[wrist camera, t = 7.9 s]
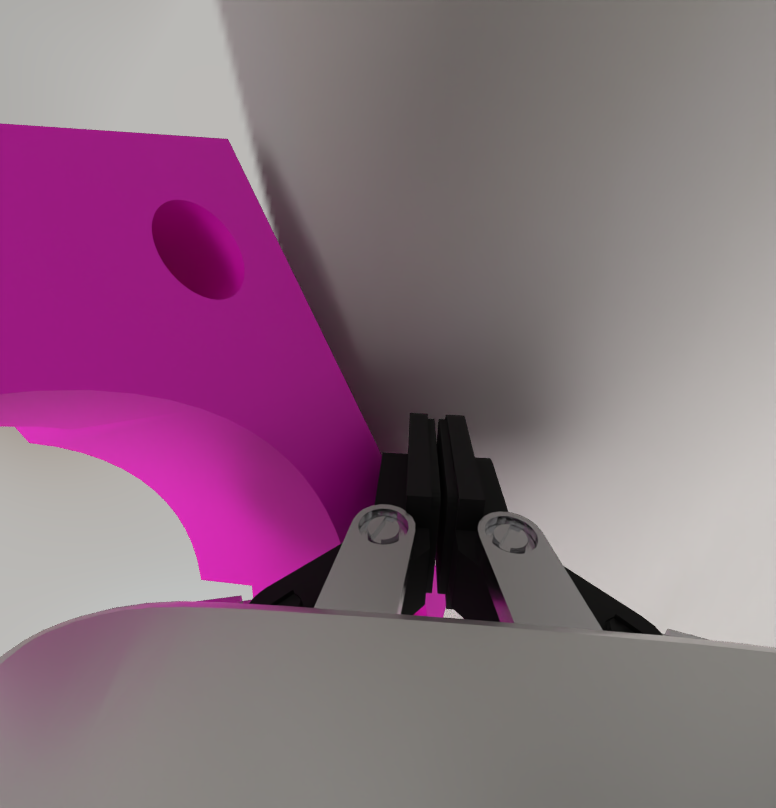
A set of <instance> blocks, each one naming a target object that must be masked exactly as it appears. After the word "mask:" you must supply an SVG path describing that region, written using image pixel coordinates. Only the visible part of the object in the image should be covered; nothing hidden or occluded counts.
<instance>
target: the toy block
mask: <svg viewBox="0 0 776 808" xmlns="http://www.w3.org/2000/svg"><path fill="white" fill-rule="evenodd" d="M0 426H10V427H11V426H12V427H15V428H16V429H17V430H18V431H19V432H20V433H21V434H22V435H23V436H24V438H25V439H26V440H27V441H28V442H29V443H33V444H40V445H47V446H55V447H60V448H64V449H68V450H72V451H77V452H81V453H84V454H87V455H90V456H93V457H96V458H99V459H102V460H104V461H107V462H109V463H111V464H113V465H115V466H117V467H120V468H122V469H124V470H125V471H127V472H129V473H130V474H132V475H134V476H135V477H137V478H139V479H140V480H142V481H143V482H144V483H145V484H147V485H148V486H150V487H151V488H152V489H153V490H154V491H156V492H157V493H158V494H159V495H160V496H161V497H162V498H163V499H164V500H165V501H166V502H167V504H168V505H169V506H170V507H171V508H172V509H173V511H174V512H175V514H176V515H177V516H178V518H179V520H180V521H181V523H182V524H183V526H184V527H185V529H186V531H187V534H188V536H189V538H190V540H191V542H192V545H193V548H194V551H195V554H196V557H197V560H198V565H199V570H200V575H201V580H208V581H216V582H225V583H234V584H242V585H252V590H253V598H254V597H255V596H256V595H257V594H258V593H259V592H261V591H262V590H263V589H265V588H266V587H268V586H270V585H271V584H273V583H275V582H276V581H278V580H280V579H282V578H283V577H285V576H287V575H288V574H290V573H292V572H294V571H295V570H297V569H299V568H300V567H302V566H304V565H305V564H307V563H309V562H311V561H312V560H314V559H316V558H317V557H319V556H321V555H323V554H324V553H326V552H328V551H329V550H331V549H333V548H335V547H336V546H338V545H340V544H341V543H343V541H344V539H345V537H346V534H347V532H348V530H349V528H350V525H351V523H352V521H353V519H354V518H355V516H356V515H357V514H358V513H359V512H360V511H362V510H363V509H365V508H367V507H370V506H373V505H374V504H375V498H376V492H377V485H378V479H379V473H380V466H381V460H382V455H381V453H380V451H379V449H378V447H377V444H376V442H375V440H374V438H373V436H372V434H371V432H370V430H369V428H368V426H367V424H366V422H365V420H364V418H363V416H362V414H361V412H360V409H359V407H358V405H357V403H356V401H355V399H354V397H353V395H352V393H351V391H350V389H349V387H348V385H347V383H346V381H345V379H344V377H343V375H342V372H341V370H340V368H339V366H338V364H337V362H336V360H335V358H334V356H333V354H332V352H331V350H330V348H329V346H328V344H327V342H326V340H325V338H324V335H323V333H322V331H321V329H320V327H319V325H318V323H317V321H316V319H315V317H314V315H313V313H312V311H311V309H310V307H309V305H308V303H307V301H306V298H305V296H304V294H303V292H302V290H301V288H300V286H299V284H298V282H297V280H296V278H295V276H294V274H293V272H292V270H291V268H290V266H289V264H288V261H287V259H286V257H285V255H284V253H283V251H282V249H281V247H280V245H279V243H278V241H277V239H276V237H275V235H274V233H273V231H272V229H271V226H270V224H269V222H268V220H267V218H266V216H265V214H264V212H263V210H262V208H261V206H260V204H259V202H258V200H257V198H256V196H255V194H254V192H253V189H252V188H251V185H250V183H249V181H248V179H247V177H246V175H245V173H244V171H243V169H242V167H241V165H240V163H239V161H238V159H237V157H236V155H235V153H234V150H233V148H232V146H231V144H230V142H229V140H228V139H219V138H205V137H190V136H176V135H159V134H146V133H132V132H116V131H101V130H86V129H72V128H58V127H43V126H28V125H13V124H0ZM445 607H446V600H445V594H438V593H437V578H436V566H435V567H434V578H433V588H432V593H426V600H425V605H424V606H423V607H422V608H421V609H420V610H418V611H417V612H416V613H415V614H414V615H416V616H429V617H442V618H443V615H444V611H445Z"/></svg>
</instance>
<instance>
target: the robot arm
mask: <svg viewBox="0 0 776 808" xmlns="http://www.w3.org/2000/svg"><path fill="white" fill-rule="evenodd" d="M435 560H436V578H437V593H438V594H445V600H446V609H454V610H455V611H456V612H457V613H458V614H460V615H461V616H462V617H463V618H464V619H455V618H442V617H429V616H416V615H414V614H415V613H416V612H417V611H418V610H420V609H421V608H422V607H423V606H424V605H425V600H426V593H432V588H433V578H434V567H435ZM0 808H776V648H774V647H765V646H758V645H751V644H743V643H733V642H724V641H713V640H708V639H705V638H701V637H697V636H693V635H690V634H686V633H682V632H678V631H675V630H671V629H667V631H666V633H665V634H662V633H661V632H660V631H659V630H658V629H657V628H656V627H655V626H654V625H653V624H651V623H650V622H649V621H647V620H646V619H645V618H643V617H642V616H641V615H639V614H637V613H636V612H634V611H633V610H631V609H630V608H628V607H626V606H625V605H623V604H622V603H620V602H619V601H617V600H616V599H614V598H612V597H611V596H609V595H608V594H606V593H605V592H603V591H602V590H600V589H598V588H597V587H595V586H594V585H592V584H591V583H589V582H587V581H586V580H584V579H583V578H581V577H580V576H578V575H577V574H575V573H573V572H572V571H570V570H569V569H567V568H566V567H564V566H563V565H562V563H561V561H560V560H559V558H558V557H557V555H556V553H555V552H554V550H553V548H552V547H551V545H550V544H549V542H548V540H547V539H546V537H545V535H544V534H543V532H542V531H541V530H540V529H539V527H538V526H537V525H536V524H534V523H533V522H532V521H530V520H529V519H527V518H525V517H523V516H521V515H518V514H515V513H511V512H508V510H507V506H506V503H505V500H504V497H503V494H502V491H501V488H500V485H499V481H498V478H497V475H496V472H495V469H494V466H493V463H492V460H491V459H490V458H475V456H474V452H473V448H472V444H471V440H470V436H469V432H468V428H467V424H466V420H465V417H464V416H460V415H446V417H445V419H439V422H438V433H437V444H436V433H435V421H434V419H428V414H417V413H410V424H409V446H408V454H398V453H383V454H382V460H381V466H380V473H379V479H378V485H377V492H376V498H375V504H374V505H373V506H370V507H367V508H365V509H363V510H362V511H360V512H359V513H358V514H357V515H356V516H355V518H354V519H353V521H352V523H351V525H350V528H349V530H348V532H347V534H346V537H345V539H344V541H343V543H341V544H340V545H338V546H336V547H335V548H333V549H331V550H329V551H328V552H326V553H324V554H323V555H321V556H319V557H317V558H316V559H314V560H312V561H311V562H309V563H307V564H305V565H304V566H302V567H300V568H299V569H297V570H295V571H294V572H292V573H290V574H288V575H287V576H285V577H283V578H282V579H280V580H278V581H276V582H275V583H273V584H271V585H270V586H268V587H266V588H265V589H263V590H262V591H261V592H259V593H258V594H257V595H256V596H255V597H254V598H253V599H252V600H248V601H242V597H241V596H234V597H227V598H219V599H211V600H204V601H196V602H188V601H175V602H156V603H144V604H137V605H131V606H124V607H116V608H112V609H108V610H104V611H100V612H96V613H92V614H88V615H84V616H80V617H77V618H74V619H71V620H68V621H65V622H63V623H60V624H57V625H55V626H52V627H50V628H48V629H45V630H43V631H41V632H39V633H37V634H35V635H33V636H31V637H29V638H28V639H26V640H24V641H22V642H21V643H20V644H18V645H17V646H15V647H14V648H12V649H11V650H9V651H8V652H6V653H5V654H4V655H3V656H1V657H0Z"/></svg>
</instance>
